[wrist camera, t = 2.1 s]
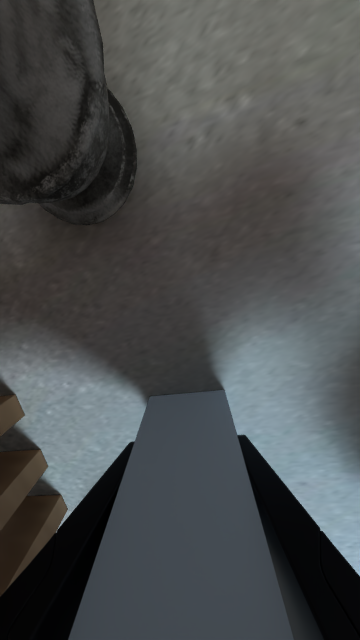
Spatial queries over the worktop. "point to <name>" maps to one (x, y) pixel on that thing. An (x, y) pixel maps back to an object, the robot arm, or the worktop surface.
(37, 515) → the tile
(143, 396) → the worktop surface
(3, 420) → the tile
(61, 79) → the grey stone sculpture
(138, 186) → the worktop surface
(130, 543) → the tile
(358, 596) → the robot arm
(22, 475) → the tile
